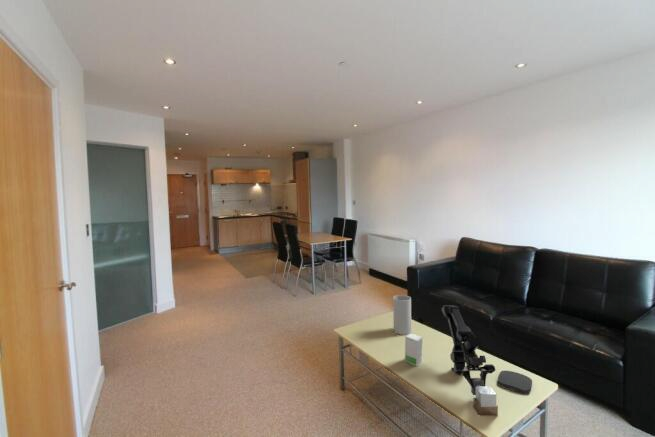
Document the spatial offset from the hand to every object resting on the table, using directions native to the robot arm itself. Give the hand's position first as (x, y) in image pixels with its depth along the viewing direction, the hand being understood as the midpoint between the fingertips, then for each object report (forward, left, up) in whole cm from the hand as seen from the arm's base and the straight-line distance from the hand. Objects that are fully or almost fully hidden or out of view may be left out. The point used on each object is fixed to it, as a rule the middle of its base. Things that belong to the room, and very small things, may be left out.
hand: (478, 388), depth 151 cm
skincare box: (-39, -17, -7) cm, 43 cm away
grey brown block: (+7, -1, -7) cm, 10 cm away
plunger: (+1, 0, -4) cm, 4 cm away
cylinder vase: (-80, -9, -7) cm, 81 cm away
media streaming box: (-10, +26, -7) cm, 29 cm away
